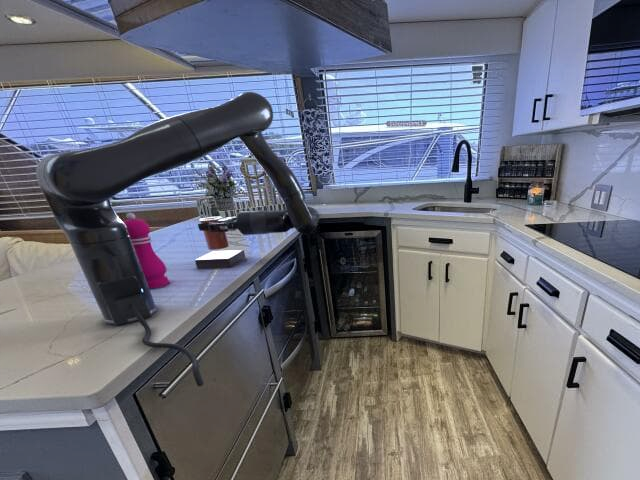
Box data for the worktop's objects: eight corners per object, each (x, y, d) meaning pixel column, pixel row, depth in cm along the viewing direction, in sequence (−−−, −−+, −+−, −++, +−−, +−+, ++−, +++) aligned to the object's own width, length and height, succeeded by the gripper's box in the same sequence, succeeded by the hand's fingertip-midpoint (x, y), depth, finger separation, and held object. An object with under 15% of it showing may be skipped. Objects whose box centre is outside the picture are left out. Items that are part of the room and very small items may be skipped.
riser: (230, 267, 104) (228, 258, 103) (197, 268, 104) (194, 259, 103) (245, 258, 114) (243, 249, 113) (215, 259, 114) (212, 251, 113)
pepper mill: (134, 288, 89) (105, 214, 81) (160, 279, 95) (135, 210, 87) (151, 290, 86) (122, 215, 78) (176, 282, 92) (153, 210, 84)
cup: (231, 246, 107) (223, 217, 103) (211, 250, 103) (202, 220, 99) (225, 244, 111) (218, 216, 107) (206, 247, 107) (197, 219, 103)
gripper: (262, 207, 109) (213, 210, 109) (243, 214, 96) (188, 216, 96) (267, 229, 112) (219, 232, 112) (249, 239, 99) (195, 241, 99)
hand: (205, 225), depth 104 cm, fingers closed on cup, 6 cm apart
